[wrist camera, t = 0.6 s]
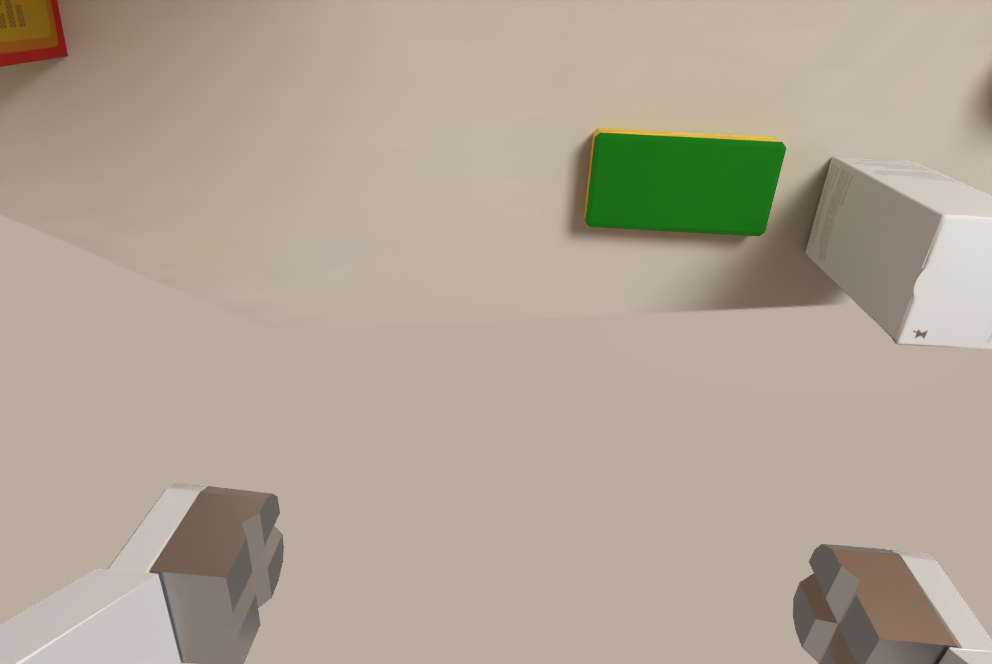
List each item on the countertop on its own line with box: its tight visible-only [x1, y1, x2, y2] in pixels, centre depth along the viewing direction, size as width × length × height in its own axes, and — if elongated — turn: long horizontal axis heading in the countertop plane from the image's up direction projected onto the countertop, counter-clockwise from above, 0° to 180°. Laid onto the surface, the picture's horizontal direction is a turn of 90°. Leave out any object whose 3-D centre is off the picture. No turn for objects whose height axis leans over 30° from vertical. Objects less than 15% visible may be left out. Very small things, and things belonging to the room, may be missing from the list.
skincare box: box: [805, 157, 992, 349], centre depth 44 cm, size 8×7×16 cm
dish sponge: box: [584, 128, 786, 236], centre depth 49 cm, size 7×14×2 cm, turn 87°
